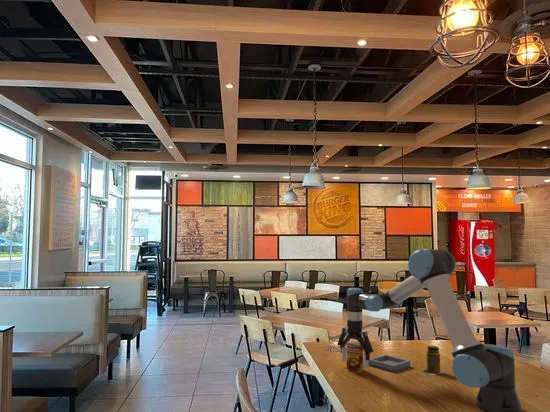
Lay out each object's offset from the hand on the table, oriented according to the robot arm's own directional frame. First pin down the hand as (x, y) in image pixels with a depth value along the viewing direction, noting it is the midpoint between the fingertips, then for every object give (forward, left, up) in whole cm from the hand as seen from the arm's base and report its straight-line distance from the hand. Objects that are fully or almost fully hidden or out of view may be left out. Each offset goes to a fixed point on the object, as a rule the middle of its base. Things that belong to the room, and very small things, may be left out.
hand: (354, 363), depth 204 cm
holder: (+19, -7, -3) cm, 20 cm away
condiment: (+27, -26, -3) cm, 38 cm away
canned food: (0, 0, -3) cm, 3 cm away
